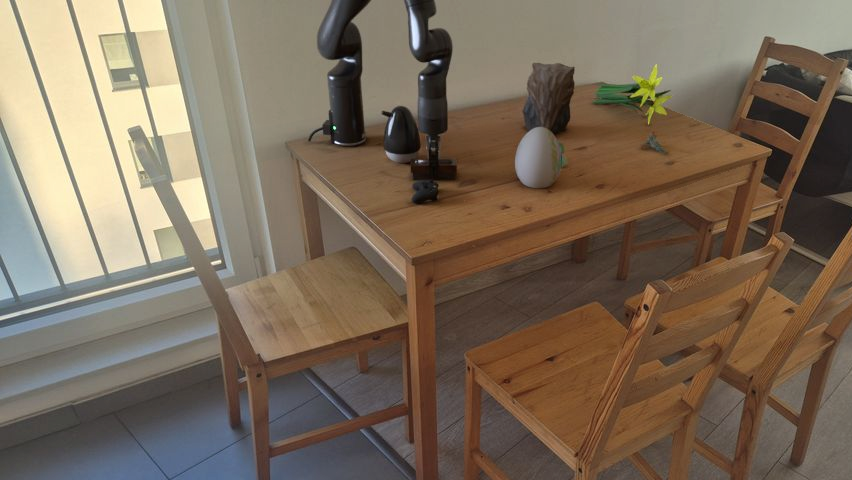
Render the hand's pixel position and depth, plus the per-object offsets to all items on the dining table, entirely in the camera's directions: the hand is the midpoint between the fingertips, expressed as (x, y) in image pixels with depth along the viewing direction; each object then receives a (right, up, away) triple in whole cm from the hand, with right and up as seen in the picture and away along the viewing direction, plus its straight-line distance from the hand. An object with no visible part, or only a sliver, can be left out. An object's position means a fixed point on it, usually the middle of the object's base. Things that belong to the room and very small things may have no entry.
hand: (433, 175), depth 180 cm
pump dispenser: (-10, +6, +9) cm, 15 cm away
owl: (+32, +19, +33) cm, 49 cm away
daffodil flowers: (+60, +28, +49) cm, 82 cm away
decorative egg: (+27, -2, 0) cm, 27 cm away
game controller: (-1, -7, -10) cm, 12 cm away
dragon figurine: (+64, +11, +23) cm, 68 cm away
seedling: (+33, +5, +12) cm, 36 cm away
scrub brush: (0, 0, 0) cm, 1 cm away
